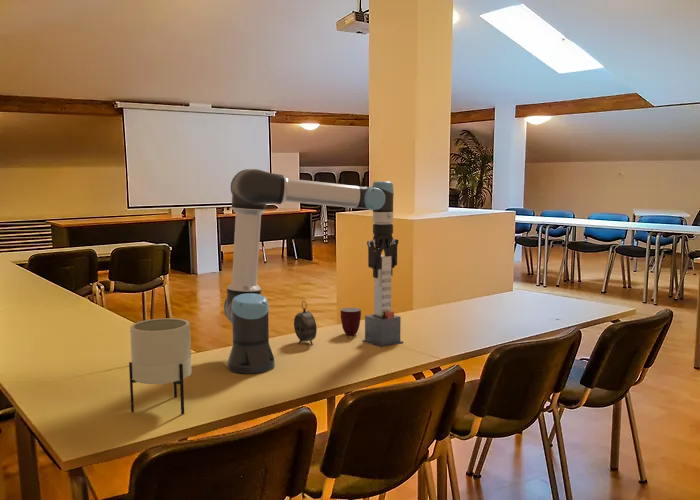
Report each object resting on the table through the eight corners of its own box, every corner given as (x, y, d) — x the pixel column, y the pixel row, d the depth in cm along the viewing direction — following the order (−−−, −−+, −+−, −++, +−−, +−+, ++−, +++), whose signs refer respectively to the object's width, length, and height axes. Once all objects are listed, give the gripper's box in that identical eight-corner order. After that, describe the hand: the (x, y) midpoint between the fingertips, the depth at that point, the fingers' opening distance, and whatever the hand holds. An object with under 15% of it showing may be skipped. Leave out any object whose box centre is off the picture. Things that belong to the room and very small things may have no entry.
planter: (129, 402, 169) (125, 321, 167) (188, 394, 176) (185, 315, 173) (133, 422, 155) (129, 334, 153) (196, 413, 162) (193, 327, 159)
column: (382, 321, 227) (382, 257, 224) (374, 319, 231) (374, 255, 228) (391, 319, 229) (392, 256, 226) (383, 317, 233) (383, 255, 230)
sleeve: (380, 347, 223) (380, 314, 222) (362, 341, 232) (362, 309, 231) (403, 342, 230) (403, 310, 228) (384, 336, 239) (384, 305, 237)
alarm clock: (317, 345, 226) (317, 302, 224) (304, 347, 223) (304, 304, 222) (304, 339, 236) (303, 297, 234) (291, 341, 233) (291, 299, 231)
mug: (359, 338, 236) (359, 313, 234) (338, 338, 236) (338, 313, 235) (361, 332, 246) (361, 307, 245) (341, 331, 247) (341, 307, 246)
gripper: (370, 225, 218) (370, 289, 220) (407, 222, 228) (407, 284, 231) (357, 223, 224) (357, 286, 226) (394, 221, 234) (394, 281, 237)
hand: (382, 285), depth 229 cm, fingers closed on column, 4 cm apart
